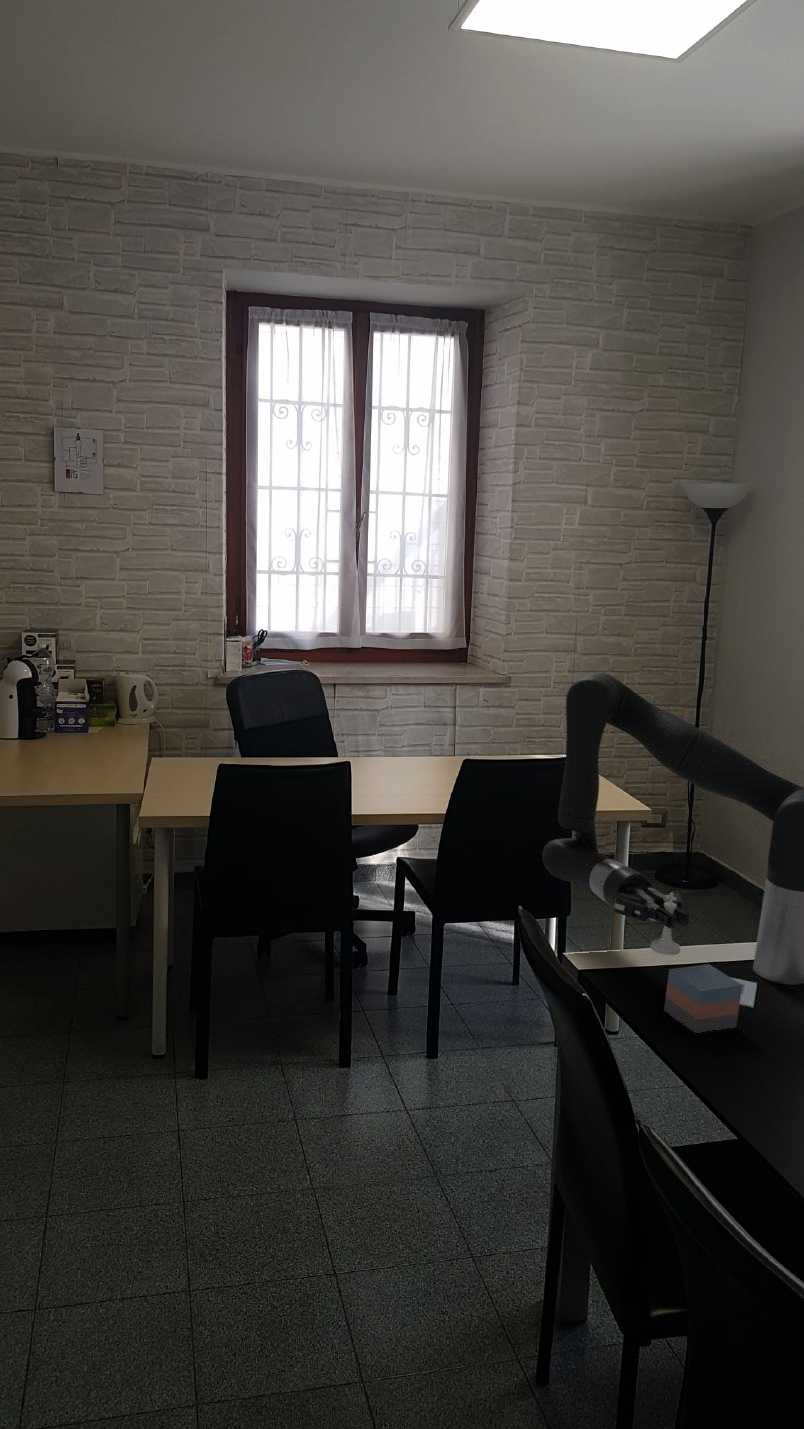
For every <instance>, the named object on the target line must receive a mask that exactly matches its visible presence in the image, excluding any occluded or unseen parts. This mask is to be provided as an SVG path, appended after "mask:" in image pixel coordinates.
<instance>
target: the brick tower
mask: <svg viewBox="0 0 804 1429" xmlns="http://www.w3.org/2000/svg"><path fill="white" fill-rule="evenodd" d="M667 976H668V977H667V983H666V984H667V985H666V992H665V1000H664V1006H663V1007H664V1009H663V1011H664V1012H665V1011H666V1012H667V1013H666V1012H665V1013H666V1014H668V1013H669V1014H670V1015H669V1014H668V1015H669V1016H670V1017H672V1018H673V1019H674V1020H676V1021H678V1022H679V1021H680V1022H679V1023H680V1024H681V1023H683V1024H682V1025H683V1026H684V1025H685V1026H686V1027H685V1026H684V1027H685V1028H687V1029H688V1028H689V1029H690V1031H691V1030H693V1032H692V1033H694V1032H695V1033H699V1034H702V1033H701V1032H705V1033H707V1032H706V1031H711V1032H713V1031H712V1030H717V1031H723V1029H724V1030H727V1029H726V1028H730V1029H734V1028H735V1027H736V1028H737V1025H738V1018H739V1010H740V1006H741V1005H740V998H741V991H742V985H741V984H740V983H738V982H736V981H735V980H733V979H732V978H733V977H731V978H730V976H729V975H727V974H725V973H724V972H723V971H721V970H719V969H717V968H716V967H714V966H713V965H711V964H710V963H709V964H699V965H692V966H686V967H685V966H684V967H676V968H670V969H669V970H668V975H667ZM689 1029H688V1030H689ZM721 1029H722V1030H721ZM695 1033H694V1034H695Z"/></svg>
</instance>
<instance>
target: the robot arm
mask: <svg viewBox="0 0 804 1429" xmlns="http://www.w3.org/2000/svg"><path fill="white" fill-rule="evenodd" d="M565 700H566V701H565V706H566V707H565V713H566V714H565V718H566V720H565V721H566V746H565V748H566V750H565V762H564V771H563V777H562V778H563V779H562V786H561V791H560V792H561V793H560V798H559V804H558V805H559V806H558V812H557V822H558V824H559V825H560V827H562V828H563V829H566V830H568V831H573V832H575V833H574V837H572V838H571V837H570V838H557V839H553V840H550V841H549V842H548V843H546V845H545V846H544V848H543V850H542V855H541V856H542V862H543V866H544V867H545V869H546V870H547V872H549V873H550V874H551V875H552V876H553V877H555V878H557V879H559V880H562V881H565V882H569V883H572V884H574V885H575V884H576V885H580V886H582V887H584V888H585V889H587V890H588V891H590V892H592V893H594V894H595V895H596V896H597V897H598V898H599V899H601V900H602V901H604V902H605V903H606V904H608V905H610V906H612V907H613V912H614V913H615V914H618V915H622V916H624V917H625V916H626V917H627V918H628V917H629V918H632V919H635V920H638V921H642V922H647V920H650V921H651V922H658V923H660V924H662V925H663V926H664V925H665V926H666V927H668V928H671V929H675V927H676V924H678V925H679V926H681V927H682V928H683V927H684V928H685V927H688V926H689V921H690V914H689V913H687V912H685V911H684V910H683V906H684V900H683V899H682V897H681V895H680V893H679V892H678V891H677V890H672V891H671V893H673V897H676V901H674V900H673V901H672V902H673V903H675V904H676V908H675V910H674V912H673V914H671V913H669V912H668V911H666V910H665V907H664V903H665V902H669V899H667V898H666V895H667V894H664V893H663V892H662V891H661V890H658V889H655V888H653V886H652V884H651V882H650V880H649V879H648V878H647V876H645V875H644V874H642V873H640V872H638V871H637V870H635V869H633V868H632V867H629V866H628V865H626V864H624V863H622V862H621V861H620V862H619V861H616V860H614V859H613V858H610V857H609V856H607V855H605V854H603V853H601V852H599V849H598V841H597V832H596V820H595V818H596V814H597V807H598V802H599V795H600V794H599V792H600V772H599V755H600V747H601V742H602V737H603V734H604V731H605V728H606V725H607V724H608V725H611V726H612V727H614V728H616V729H618V730H620V731H622V732H624V733H626V734H628V735H629V736H631V737H632V738H634V739H635V740H637V741H638V742H639V743H640V744H641V745H642V746H643V747H644V748H645V749H646V750H647V751H648V752H649V754H651V755H652V757H654V758H655V759H656V760H657V761H658V762H659V763H660V764H662V766H664V767H665V768H666V769H668V771H670V772H671V773H673V774H675V775H676V776H679V777H680V778H681V779H683V780H684V781H687V782H688V783H690V784H692V785H693V786H696V787H697V788H700V789H702V790H704V791H707V792H709V793H712V794H715V795H719V796H722V797H724V798H728V799H731V800H734V801H737V802H740V803H742V804H745V805H747V806H749V807H751V808H752V809H754V810H755V811H757V812H759V813H760V814H761V815H762V816H764V817H766V818H767V819H769V820H771V822H773V823H772V828H771V836H770V841H769V842H770V843H769V850H768V857H767V858H768V859H767V870H766V878H765V885H764V891H763V892H764V893H763V898H762V905H761V911H760V920H759V924H758V925H759V927H758V933H757V939H756V945H755V952H754V959H753V965H752V966H753V967H752V970H753V972H755V974H756V975H758V976H760V977H761V978H763V979H766V980H768V981H770V982H773V983H776V984H783V985H789V986H790V985H791V986H793V985H795V986H796V985H801V984H804V787H803V786H801V785H799V784H797V783H794V782H792V781H790V780H788V779H785V778H784V777H781V776H779V775H777V774H775V773H773V772H771V771H769V770H767V769H766V768H763V767H762V766H760V765H759V764H758V763H756V762H755V761H753V760H751V759H750V758H749V757H747V756H745V754H743V753H741V752H739V751H738V750H736V749H735V748H732V747H731V746H729V745H728V744H726V743H725V742H723V741H721V740H720V739H719V738H716V737H714V736H713V735H711V734H709V733H708V732H705V731H704V730H702V729H700V728H699V727H696V726H695V725H693V724H691V723H689V722H687V721H685V720H683V719H681V718H680V717H678V716H676V715H674V714H672V713H670V712H668V711H666V710H664V709H662V708H660V707H659V706H656V705H655V704H653V703H651V702H650V701H648V699H647V700H646V699H645V698H644V697H642V695H639V694H638V693H636V692H635V691H633V690H632V689H631V688H629V687H628V686H627V685H626V684H625V683H623V682H621V681H620V680H618V678H616V677H615V676H612V675H610V674H608V673H605V672H600V671H599V672H598V671H597V672H591V673H589V674H587V675H585V676H583V677H580V678H579V679H577V680H575V682H573V683H572V685H570V687H569V689H568V691H567V693H566V696H565ZM668 895H669V896H670V894H668Z"/></svg>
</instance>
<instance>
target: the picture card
mask: <svg viewBox="0 0 804 1429" xmlns="http://www.w3.org/2000/svg"><path fill="white" fill-rule="evenodd" d="M729 977H730V976H729ZM730 978H732V979H733V980H735V981H736V982H738V983H740V984H741V985H742V991H741V998H740V1005H739V1006H741V1007H742V1006H743V1007H746V1006H747V1007H748V1008H751V1009H754V1005H755V1000H756V998H755V997H756V992H757V985H758V983H757V982H754V981H749V980H745V979H740V978H735V977H730Z"/></svg>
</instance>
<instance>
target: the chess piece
mask: <svg viewBox="0 0 804 1429" xmlns="http://www.w3.org/2000/svg"><path fill="white" fill-rule="evenodd" d="M665 895H666V898H667V899H669V902H665V903H664V907H665V910H666V911H668V912H669V913H671V914H673V912H674V910H675V908H676V904H675V903H673V902H672V901H673V900H674V901H676V897H673V893H672V892H670V893H669V894H665ZM669 895H670V896H669ZM663 926H664V927H663V930H662V933H661V936H660V937H659V938H658V939H653V941H651V942H650V946H649V947H650V950H652V951H653V952H655V953H657V954H660V955H665V956H676V955H679V954H680V953H681V946H680V945H679V944H678V942H676V941H675V942H674V940H673V939H672V928H668V927H666V926H665V925H663Z"/></svg>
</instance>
